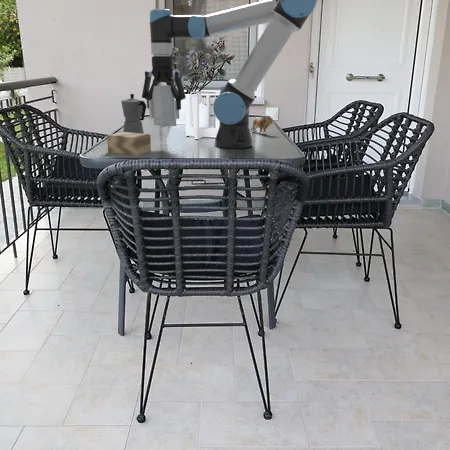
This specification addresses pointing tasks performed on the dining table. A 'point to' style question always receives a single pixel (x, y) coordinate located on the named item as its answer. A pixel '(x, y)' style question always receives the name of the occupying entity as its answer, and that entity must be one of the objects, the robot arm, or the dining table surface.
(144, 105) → the coffeepot
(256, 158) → the dining table surface
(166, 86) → the skincare box
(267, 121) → the lion figurine
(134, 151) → the oak block
